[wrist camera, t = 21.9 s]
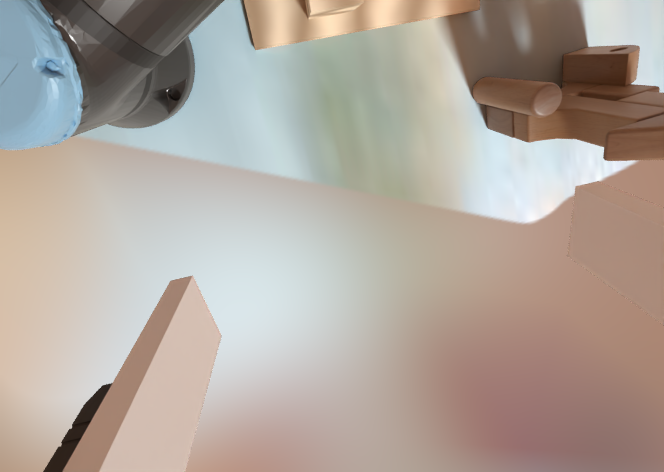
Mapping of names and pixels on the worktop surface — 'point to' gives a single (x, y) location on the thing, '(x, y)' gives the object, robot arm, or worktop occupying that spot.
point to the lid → (338, 17)
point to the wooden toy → (582, 105)
